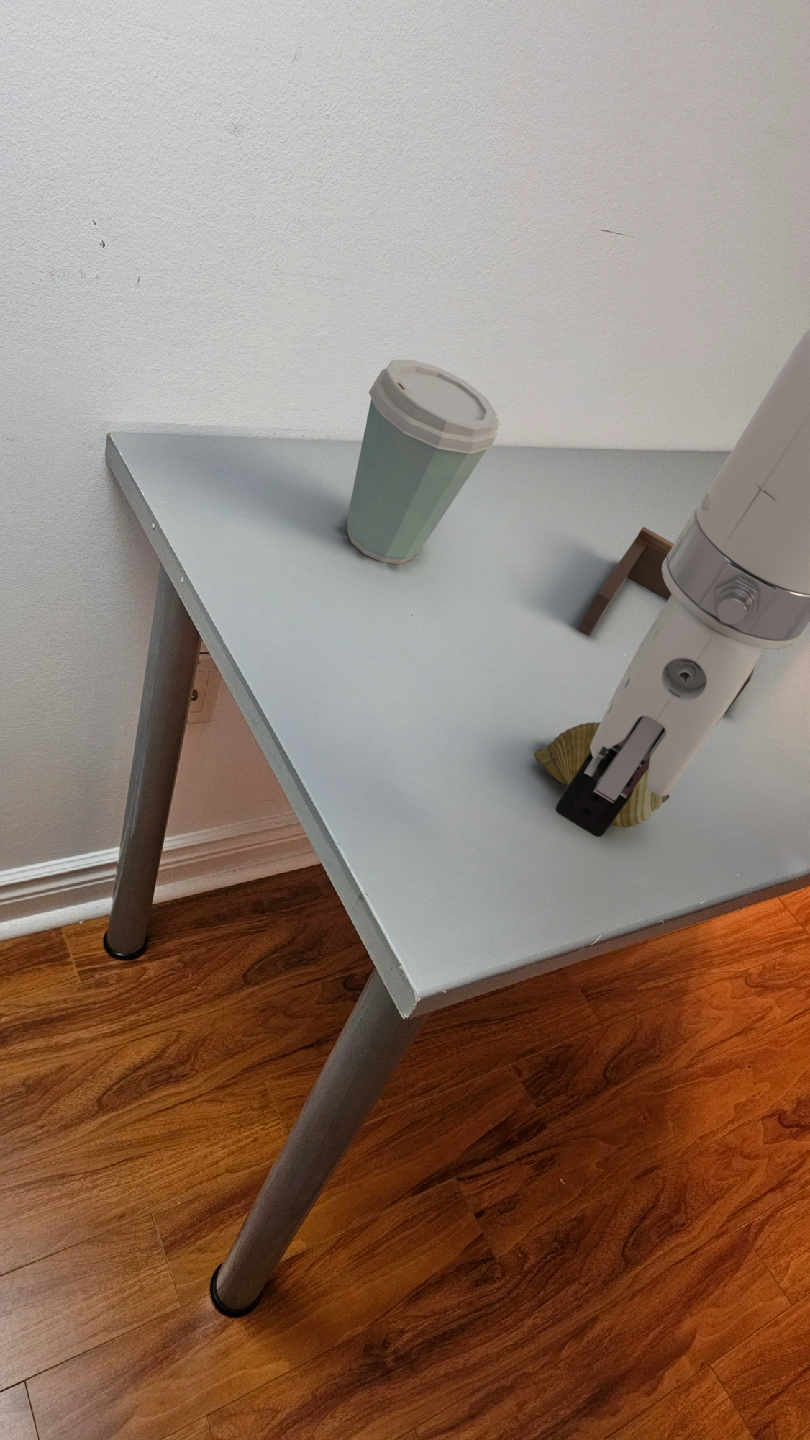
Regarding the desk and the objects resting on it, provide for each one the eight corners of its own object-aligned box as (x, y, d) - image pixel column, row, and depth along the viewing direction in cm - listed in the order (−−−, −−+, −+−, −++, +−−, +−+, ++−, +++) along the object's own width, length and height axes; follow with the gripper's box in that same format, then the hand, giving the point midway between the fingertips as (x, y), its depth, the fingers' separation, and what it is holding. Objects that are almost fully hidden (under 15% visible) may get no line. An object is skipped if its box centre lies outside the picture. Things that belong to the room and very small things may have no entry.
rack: (753, 641, 100) (781, 602, 97) (725, 714, 89) (755, 672, 86) (620, 566, 102) (643, 525, 99) (577, 628, 91) (602, 585, 88)
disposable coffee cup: (401, 504, 96) (460, 353, 87) (464, 578, 91) (534, 426, 82) (301, 509, 90) (353, 347, 81) (363, 589, 85) (427, 425, 75)
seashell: (519, 804, 79) (518, 782, 71) (553, 719, 80) (555, 687, 73) (645, 852, 77) (658, 834, 69) (677, 763, 78) (693, 736, 71)
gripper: (792, 687, 45) (600, 931, 57) (830, 557, 57) (663, 783, 69) (640, 599, 46) (481, 857, 58) (707, 489, 58) (563, 723, 69)
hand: (580, 816), depth 63 cm, fingers closed
